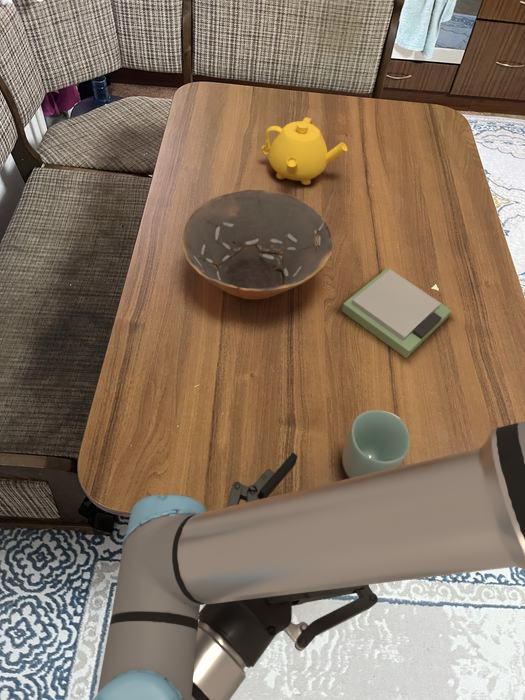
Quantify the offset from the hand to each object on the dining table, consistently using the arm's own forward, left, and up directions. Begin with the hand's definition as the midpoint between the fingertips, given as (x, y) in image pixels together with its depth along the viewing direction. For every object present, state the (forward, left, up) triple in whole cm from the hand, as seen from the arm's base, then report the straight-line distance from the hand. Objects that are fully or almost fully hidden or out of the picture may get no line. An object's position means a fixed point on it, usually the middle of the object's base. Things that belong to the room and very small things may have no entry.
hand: (338, 492), depth 65 cm
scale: (+15, -36, -8) cm, 40 cm away
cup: (+1, -9, -8) cm, 12 cm away
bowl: (+38, -24, -8) cm, 46 cm away
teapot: (+53, -53, -8) cm, 75 cm away
